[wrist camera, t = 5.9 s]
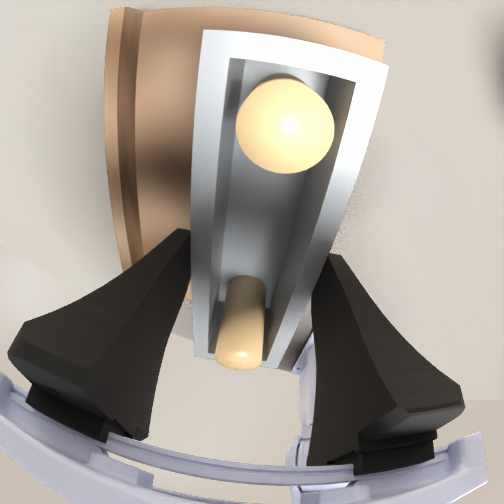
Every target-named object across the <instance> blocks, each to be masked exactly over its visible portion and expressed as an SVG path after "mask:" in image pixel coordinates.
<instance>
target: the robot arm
mask: <svg viewBox="0 0 504 504" xmlns="http://www.w3.org/2000/svg"><path fill="white" fill-rule="evenodd" d="M190 278H191V233H190V230H187V229H180V228H177V229H176V230H174V231H173V232H172V233H171V234H170V235H168V236H167V237H166V238H165V239H164V240H163V241H162V242H160V243H159V244H158V245H157V246H156V247H155V248H153V249H152V250H151V251H150V252H149V253H147V254H146V255H145V256H144V257H143V258H141V259H140V260H139V261H137V262H136V263H135V264H134V265H132V266H131V267H130V268H128V269H127V270H126V271H124V272H123V273H122V274H120V275H119V276H117V277H116V278H114V279H113V280H111V281H110V282H108V283H107V284H105V285H104V286H102V287H100V288H99V289H97V290H95V291H93V292H91V293H90V294H88V295H86V296H84V297H82V298H81V299H79V300H77V301H75V302H73V303H71V304H69V305H67V306H64V307H62V308H60V309H58V310H56V311H53V312H51V313H48V314H45V315H43V316H40V317H37V318H35V319H32V320H29V321H26V322H24V324H23V325H22V327H21V329H20V331H19V332H18V334H17V336H16V337H15V339H14V341H13V343H12V345H11V347H10V348H9V350H8V358H9V360H10V361H11V362H12V364H13V365H14V366H15V367H16V368H17V369H18V370H19V371H20V372H21V373H22V374H23V375H24V376H25V377H26V378H27V379H28V380H29V381H30V382H31V383H32V386H31V389H30V391H29V393H28V392H26V391H24V390H23V389H21V388H20V387H18V386H16V385H15V384H13V383H12V381H11V380H10V379H9V378H8V377H7V376H6V375H5V374H3V373H2V372H1V371H0V448H1V449H2V450H3V451H4V452H5V453H6V454H7V455H8V456H9V457H11V458H12V459H13V460H14V461H15V462H16V463H18V464H19V465H20V466H21V467H22V468H24V469H25V470H26V471H27V472H29V473H30V474H31V475H32V476H34V477H35V478H37V479H38V480H39V481H40V482H42V483H43V484H44V485H46V486H47V487H49V488H50V489H52V490H53V491H55V492H56V493H58V494H59V495H61V496H62V497H64V498H65V499H67V500H69V501H70V502H72V503H74V504H254V503H241V502H231V501H224V500H217V499H209V498H204V497H198V496H192V495H187V494H182V493H178V492H173V491H169V490H164V489H161V488H157V487H153V486H152V483H153V478H154V475H153V474H151V473H148V472H145V471H143V470H140V469H139V468H136V467H134V466H131V465H128V464H125V463H122V462H120V461H117V460H115V459H112V458H110V457H109V455H108V453H107V452H106V451H108V452H111V453H113V454H116V455H119V456H122V457H124V458H128V459H130V460H134V461H137V462H140V463H143V464H146V465H150V466H153V467H157V468H160V469H164V470H169V471H172V472H177V473H181V474H186V475H191V476H195V477H201V478H206V479H212V480H219V481H227V482H235V483H244V484H258V485H276V486H277V485H278V486H290V490H291V496H292V503H293V504H450V503H452V502H454V501H455V500H457V499H458V498H460V497H462V496H464V495H466V494H468V493H469V492H471V491H473V490H475V489H476V488H478V487H480V486H482V485H483V484H485V483H487V481H488V476H487V467H486V458H485V451H484V444H483V439H482V433H481V431H479V432H476V433H473V434H470V435H467V436H465V437H462V438H460V439H458V440H456V441H454V442H452V443H450V444H449V445H447V446H443V447H440V448H436V449H434V447H433V440H435V439H436V438H437V431H436V430H437V429H438V428H440V427H442V426H444V425H445V424H447V423H449V422H450V421H452V420H453V419H455V418H456V417H458V416H459V415H460V414H461V413H462V412H463V411H464V409H465V404H464V400H463V396H462V392H461V388H460V385H458V384H457V383H456V382H454V381H453V380H452V379H450V378H449V377H447V376H446V375H445V374H443V373H442V372H441V371H439V370H438V369H437V368H436V367H435V366H433V365H432V364H431V363H430V362H429V361H427V360H426V359H425V358H424V357H423V356H422V355H421V354H420V353H419V352H418V351H417V350H416V349H415V348H413V347H412V346H411V345H410V344H409V343H408V342H407V341H406V340H405V338H404V337H403V336H402V335H401V334H400V333H399V332H398V331H397V330H396V329H395V327H394V326H393V325H392V324H391V323H390V322H389V321H388V319H387V318H386V317H385V316H384V314H383V313H382V312H381V311H380V309H379V308H378V307H377V305H376V304H375V303H374V301H373V300H372V299H371V297H370V296H369V295H368V293H367V292H366V290H365V289H364V288H363V286H362V285H361V283H360V282H359V280H358V279H357V277H356V276H355V274H354V273H353V272H352V270H351V269H350V267H349V266H348V264H347V263H346V261H345V260H344V259H343V257H342V256H341V255H337V254H331V253H329V255H328V256H327V258H326V261H325V263H324V266H323V268H322V271H321V273H320V275H319V278H318V280H317V283H316V285H315V287H314V290H313V292H312V294H311V316H312V326H313V332H312V334H311V336H310V338H309V340H308V342H307V344H306V345H305V347H304V349H303V351H302V353H301V355H300V356H299V358H298V360H297V362H296V364H295V365H294V367H293V369H292V373H293V374H299V375H300V420H301V423H302V425H303V427H302V435H299V436H297V437H296V438H295V439H294V440H293V442H292V443H291V444H290V446H289V448H288V451H287V456H286V466H269V465H255V464H245V463H244V464H243V463H235V462H228V461H221V460H214V459H208V458H203V457H197V456H192V455H187V454H183V453H178V452H174V451H170V450H166V449H162V448H158V447H154V446H151V445H147V444H144V443H141V442H137V441H134V440H131V439H135V440H138V441H141V440H144V439H145V438H147V437H148V433H149V425H150V418H151V412H152V406H153V401H154V395H155V390H156V385H157V381H158V376H159V372H160V367H161V363H162V359H163V355H164V351H165V347H166V344H167V341H168V338H169V336H170V333H171V331H172V328H173V325H174V323H175V320H176V318H177V315H178V313H179V310H180V308H181V305H182V303H183V300H184V298H185V295H186V293H187V289H188V286H189V282H190ZM125 437H127V438H125ZM128 438H130V439H128ZM105 450H106V451H105Z"/></svg>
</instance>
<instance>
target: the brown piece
mask: <svg viewBox="0 0 504 504" xmlns="http://www.w3.org/2000/svg"><path fill="white" fill-rule="evenodd" d="M203 30H226V31H240V32H250V33H259V34H267V35H274V36H280V37H286V38H292V39H297V40H302V41H307V42H311V43H316V44H320V45H324V46H328V47H332V48H335V49H339V50H342V51H346V52H349V53H353V54H356V55H359V56H362V57H365V58H368V59H371V60H374V61H376V62H379V63H381V62H382V58H383V53H384V48H385V43H386V42H385V41H383V40H380V39H378V38H375V37H372V36H369V35H366V34H363V33H360V32H357V31H354V30H351V29H348V28H344V27H341V26H337V25H334V24H330V23H326V22H322V21H318V20H313V19H309V18H304V17H299V16H294V15H288V14H282V13H275V12H268V11H259V10H249V9H236V8H207V7H203V8H174V9H161V10H151V11H140V10H136V9H132V8H128V7H120V8H115V9H111V11H110V18H109V25H108V34H107V44H106V56H105V74H104V130H105V149H106V163H107V174H108V183H109V192H110V200H111V207H112V214H113V220H114V227H115V233H116V238H117V244H118V249H119V254H120V259H121V264H122V268H123V272H124V271H126V270H127V269H128V268H130V267H131V266H132V265H134V264H135V263H136V262H137V261H139V260H140V259H141V258H143V257H144V256H145V255H146V254H147V253H149V252H150V251H151V250H152V249H153V248H155V247H156V246H157V245H158V244H159V243H160V242H162V241H163V240H164V239H165V238H166V237H167V236H168V235H170V234H171V233H172V232H173V231H174V230H176V229H177V228H180V229H187V230H190V211H191V172H192V149H193V131H194V116H195V103H196V92H197V81H198V71H199V62H200V53H201V45H202V37H203ZM184 299H188V300H192V297H191V278H190V282H189V286H188V289H187V293H186V295H185V298H184Z"/></svg>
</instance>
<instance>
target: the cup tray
mask: <svg viewBox="0 0 504 504" xmlns="http://www.w3.org/2000/svg"><path fill="white" fill-rule="evenodd" d="M388 68H389V66H387V65H384V64H382V63H379V62H376V61H374V60H371V59H368V58H365V57H362V56H359V55H356V54H353V53H349V52H346V51H342V50H339V49H335V48H332V47H328V46H324V45H320V44H316V43H311V42H307V41H302V40H297V39H292V38H286V37H280V36H274V35H267V34H259V33H250V32H240V31H226V30H203V37H202V45H201V53H200V62H199V71H198V81H197V92H196V103H195V116H194V131H193V149H192V172H191V211H190V233H191V297H192V320H193V338H194V353H195V357H200V358H206V359H212V360H216V361H217V362H218V363H219V364H220V365H222V366H224V367H227V368H230V369H234V370H250V369H254V368H257V367H267V368H276V369H277V367H278V365H279V363H280V361H281V359H282V357H283V355H284V353H285V351H286V349H287V347H288V345H289V343H290V341H291V339H292V337H293V335H294V333H295V330H296V328H297V326H298V324H299V322H300V320H301V317H302V315H303V313H304V311H305V309H306V306H307V304H308V302H309V300H310V297H311V294H312V292H313V290H314V287H315V285H316V283H317V280H318V278H319V275H320V273H321V271H322V268H323V266H324V263H325V261H326V258H327V256H328V255H329V252H330V250H331V247H332V245H333V242H334V239H335V237H336V234H337V232H338V229H339V226H340V224H341V221H342V218H343V216H344V213H345V210H346V207H347V205H348V202H349V199H350V196H351V193H352V191H353V188H354V185H355V182H356V179H357V176H358V173H359V170H360V167H361V164H362V161H363V158H364V155H365V151H366V148H367V145H368V142H369V138H370V135H371V132H372V128H373V125H374V121H375V118H376V114H377V111H378V107H379V103H380V100H381V96H382V92H383V88H384V84H385V80H386V76H387V72H388Z"/></svg>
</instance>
